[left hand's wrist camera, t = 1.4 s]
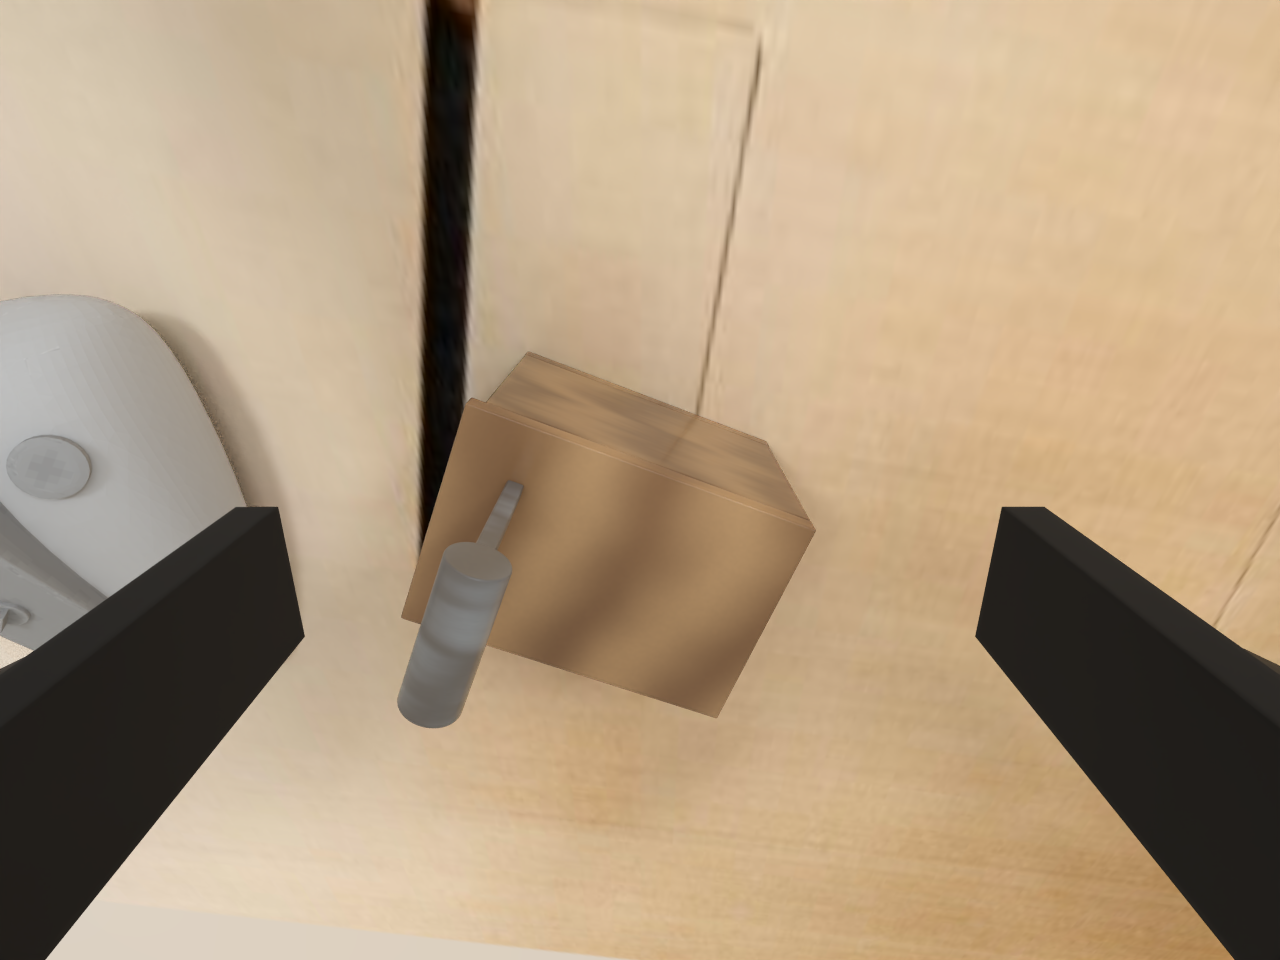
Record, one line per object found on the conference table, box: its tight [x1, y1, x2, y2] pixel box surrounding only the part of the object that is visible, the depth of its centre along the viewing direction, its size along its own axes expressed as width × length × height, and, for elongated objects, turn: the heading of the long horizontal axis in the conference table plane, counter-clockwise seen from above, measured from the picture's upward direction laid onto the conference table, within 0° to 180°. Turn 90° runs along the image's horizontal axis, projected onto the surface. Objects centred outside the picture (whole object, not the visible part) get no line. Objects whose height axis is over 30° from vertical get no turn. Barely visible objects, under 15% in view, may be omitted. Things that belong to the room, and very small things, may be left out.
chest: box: [486, 352, 810, 521], centre depth 35 cm, size 14×10×11 cm
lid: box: [397, 398, 816, 728], centre depth 26 cm, size 15×10×9 cm
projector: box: [0, 295, 247, 650], centre depth 33 cm, size 22×23×15 cm
